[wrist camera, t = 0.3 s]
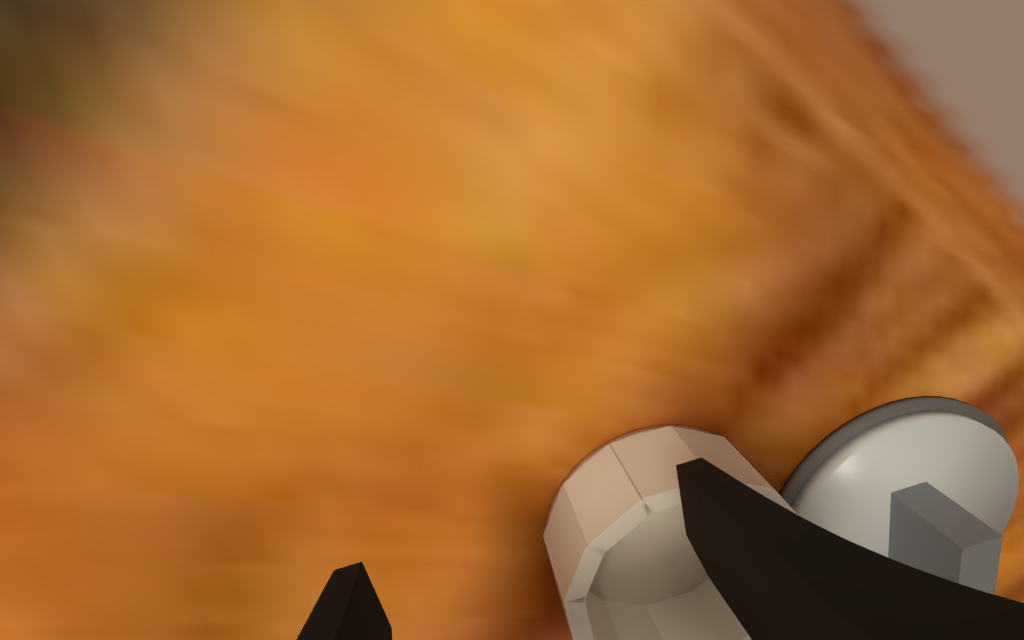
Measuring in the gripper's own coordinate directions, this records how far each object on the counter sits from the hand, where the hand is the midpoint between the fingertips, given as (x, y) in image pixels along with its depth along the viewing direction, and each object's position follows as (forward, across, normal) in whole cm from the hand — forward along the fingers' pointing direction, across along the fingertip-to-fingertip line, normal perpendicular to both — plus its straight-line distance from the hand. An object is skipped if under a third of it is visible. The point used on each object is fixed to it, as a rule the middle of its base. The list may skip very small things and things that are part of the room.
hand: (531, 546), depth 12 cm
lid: (+9, -17, +14) cm, 24 cm away
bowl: (+10, -6, +10) cm, 15 cm away
